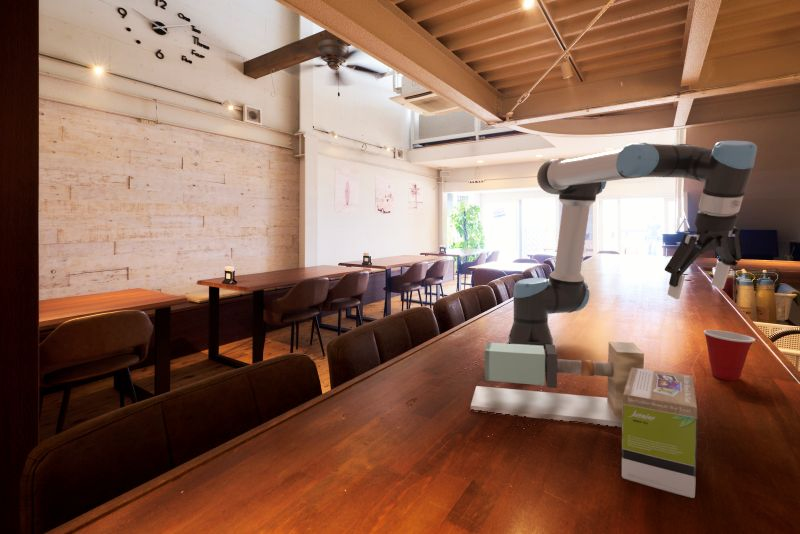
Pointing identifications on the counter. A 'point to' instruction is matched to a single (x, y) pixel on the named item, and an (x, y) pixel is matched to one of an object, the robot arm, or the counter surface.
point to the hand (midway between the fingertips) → (695, 291)
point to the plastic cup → (727, 353)
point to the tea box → (660, 431)
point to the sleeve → (515, 363)
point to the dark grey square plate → (551, 366)
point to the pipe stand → (566, 404)
